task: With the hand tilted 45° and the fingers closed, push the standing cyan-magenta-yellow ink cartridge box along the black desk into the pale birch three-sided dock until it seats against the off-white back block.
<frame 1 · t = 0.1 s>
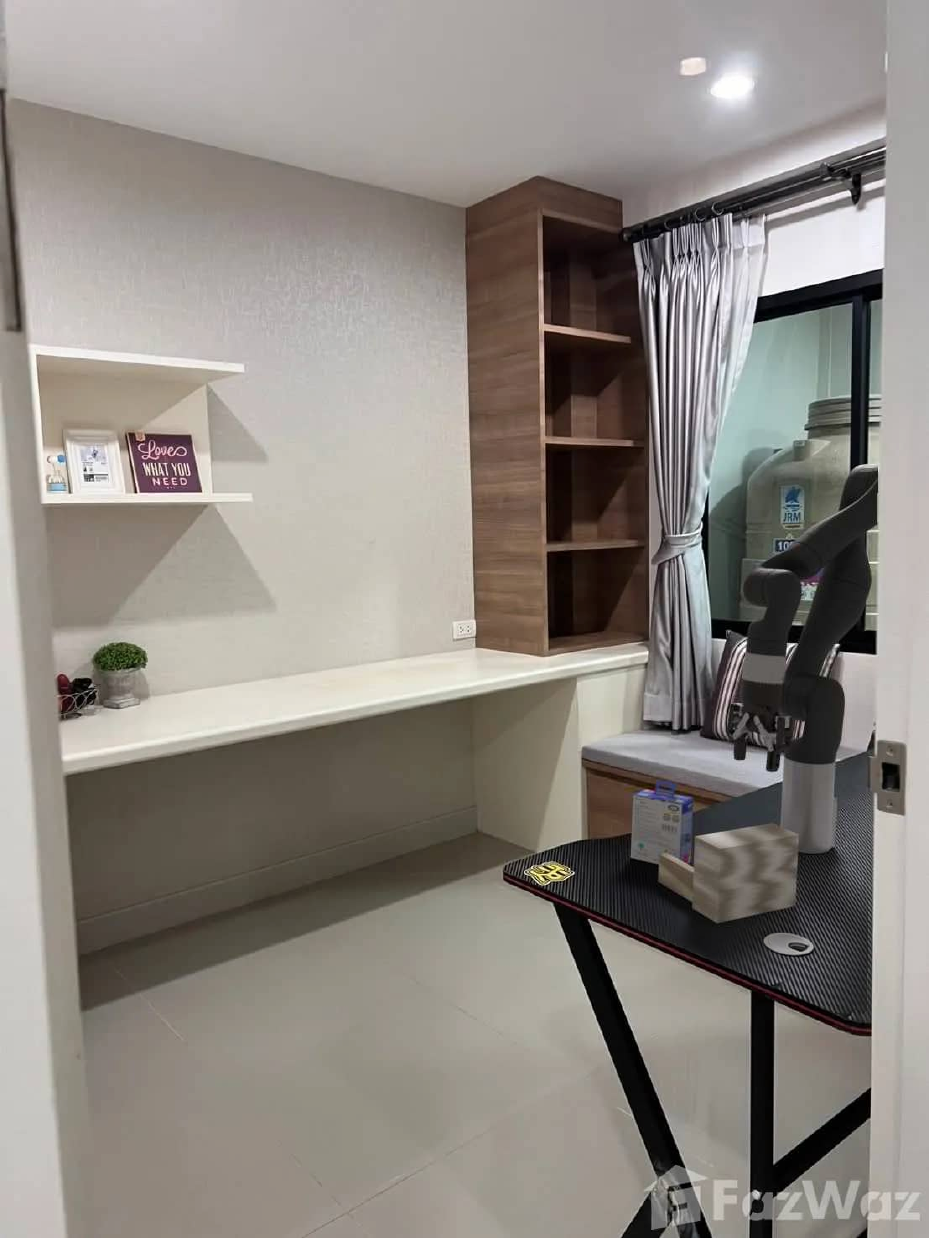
hand: (755, 765, 170), 17 cm above the table, tool pointing down, fingers open, 8 cm apart
ink cartridge box: (661, 861, 169), on the table
cartridge dock: (721, 894, 155), on the table
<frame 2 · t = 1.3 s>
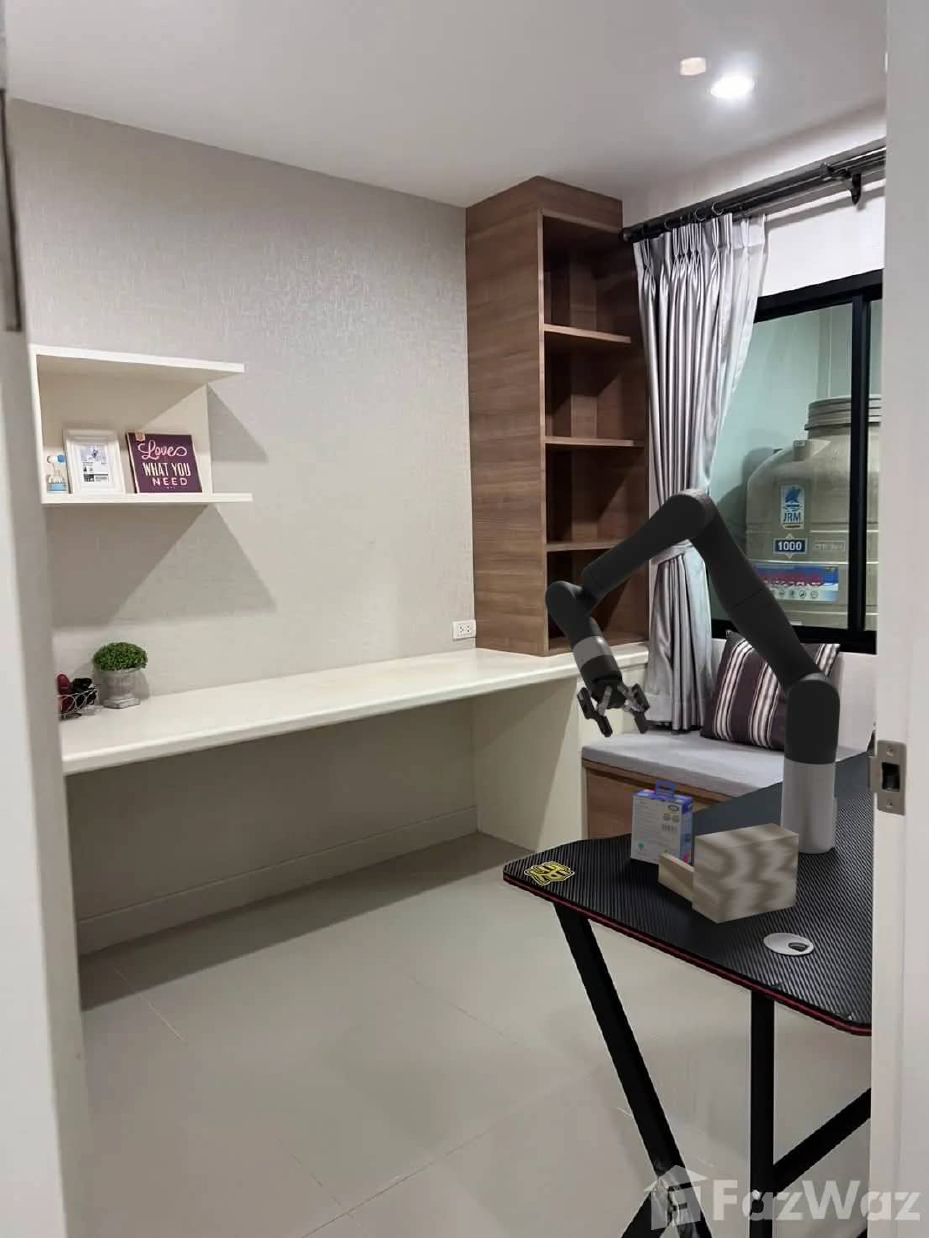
hand: (627, 733, 177), 21 cm above the table, tool tilted 45°, fingers open, 8 cm apart
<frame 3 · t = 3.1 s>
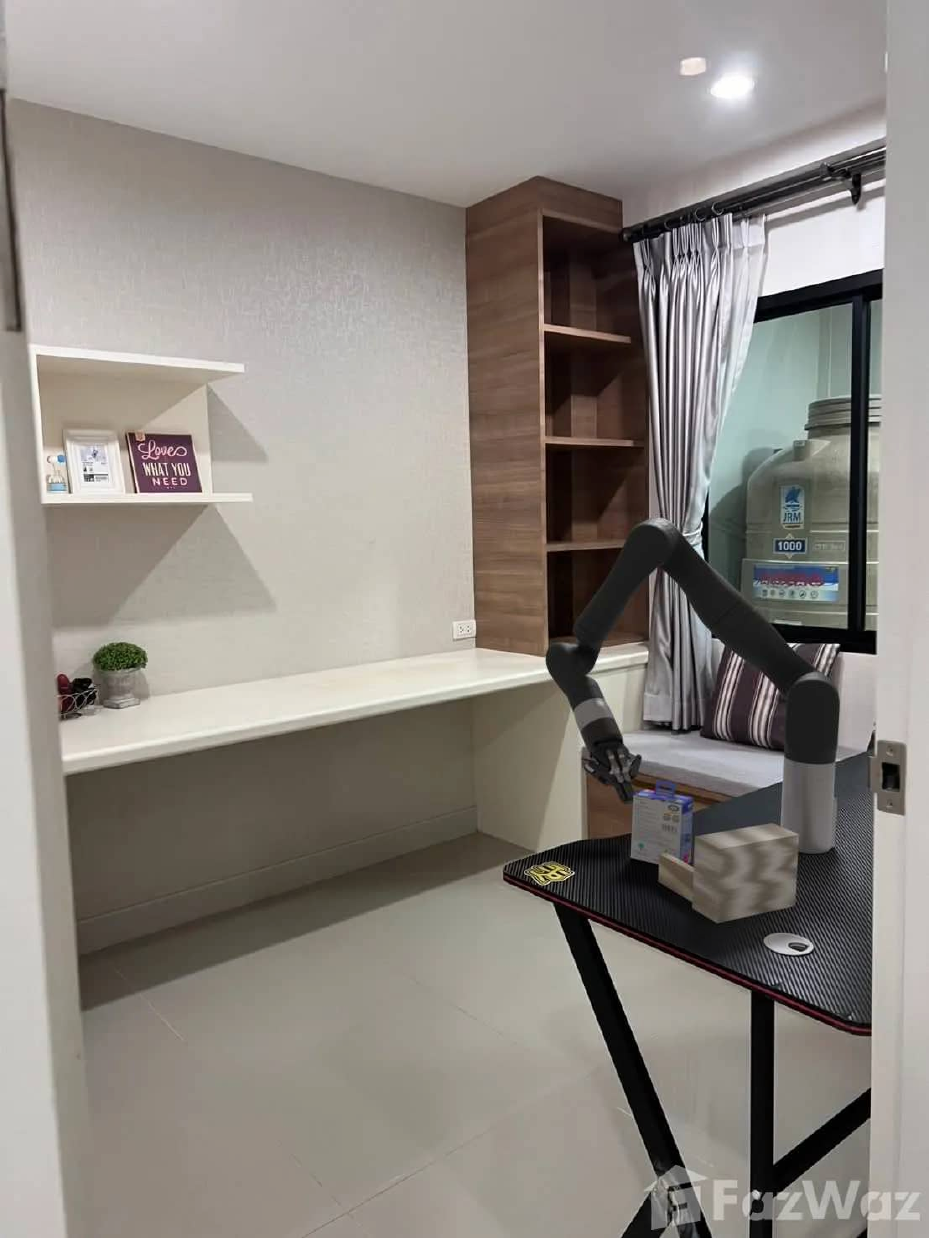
hand: (630, 802, 177), 8 cm above the table, tool tilted 45°, fingers closed
nothing on the table moved.
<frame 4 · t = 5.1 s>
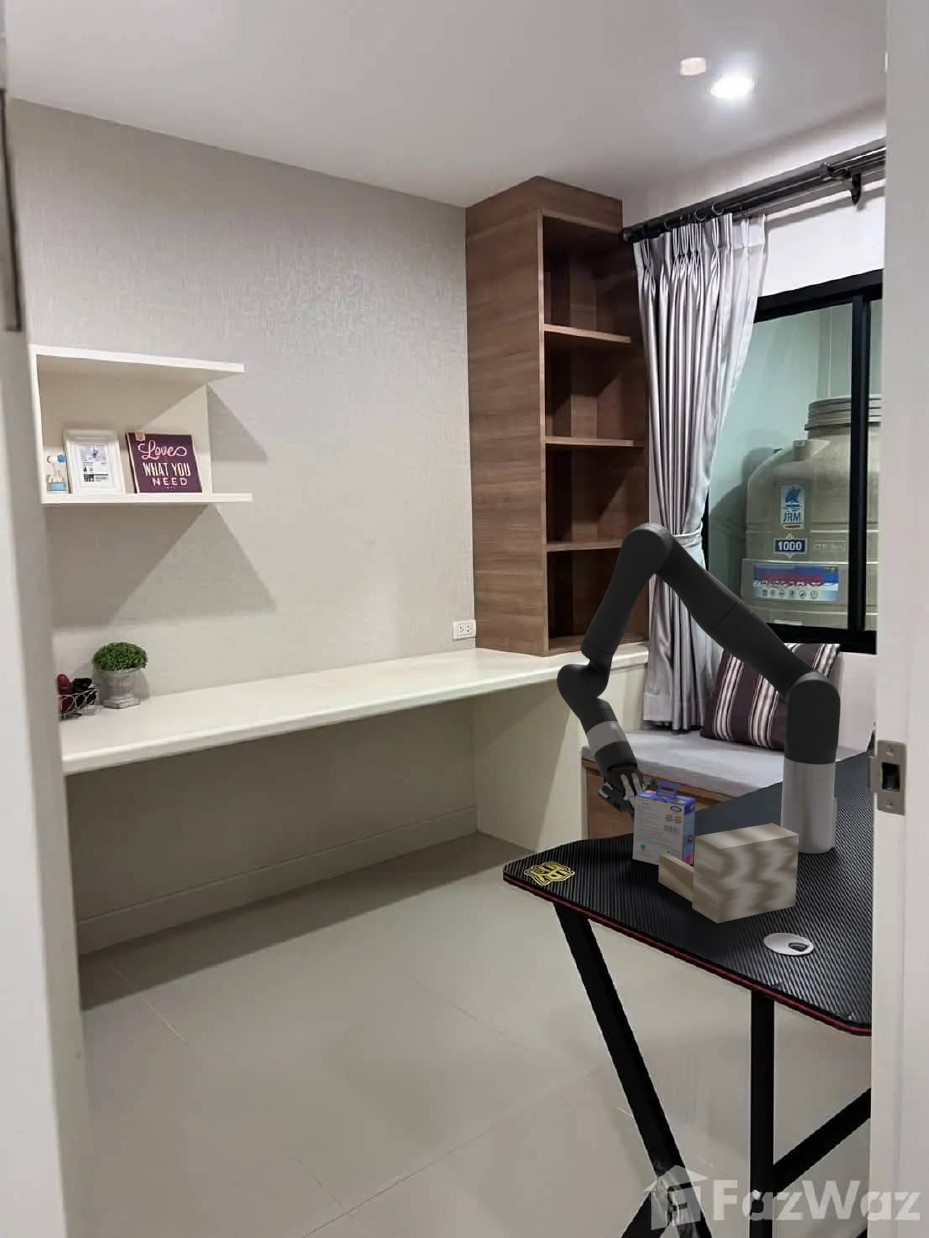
hand: (645, 828, 174), 4 cm above the table, tool tilted 45°, fingers closed
ink cartridge box: (663, 862, 169), on the table, touching gripper
everything else where it was.
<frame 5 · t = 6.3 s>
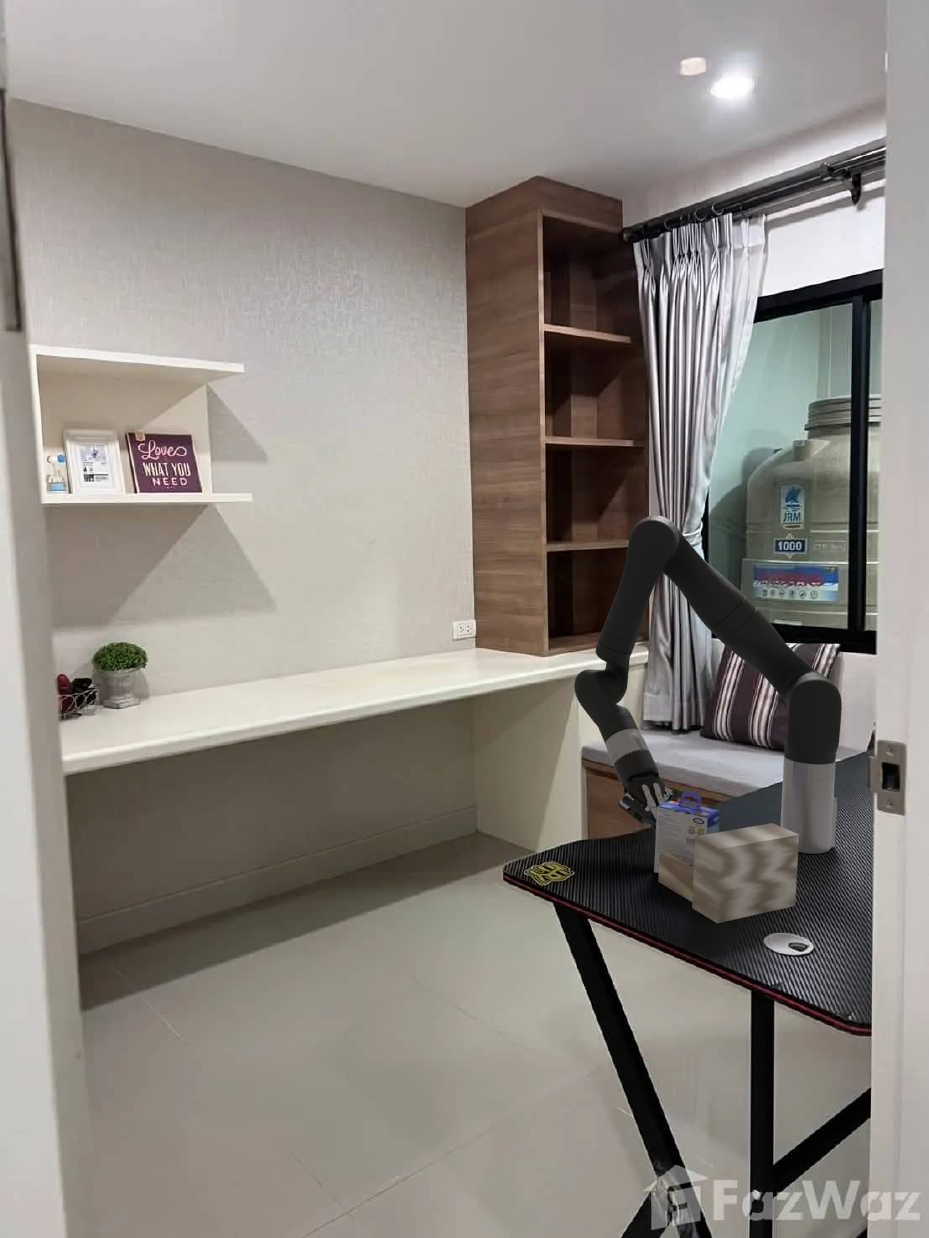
hand: (667, 841, 167), 4 cm above the table, tool tilted 45°, fingers closed
ink cartridge box: (685, 876, 162), on the table, touching gripper
everything else where it was.
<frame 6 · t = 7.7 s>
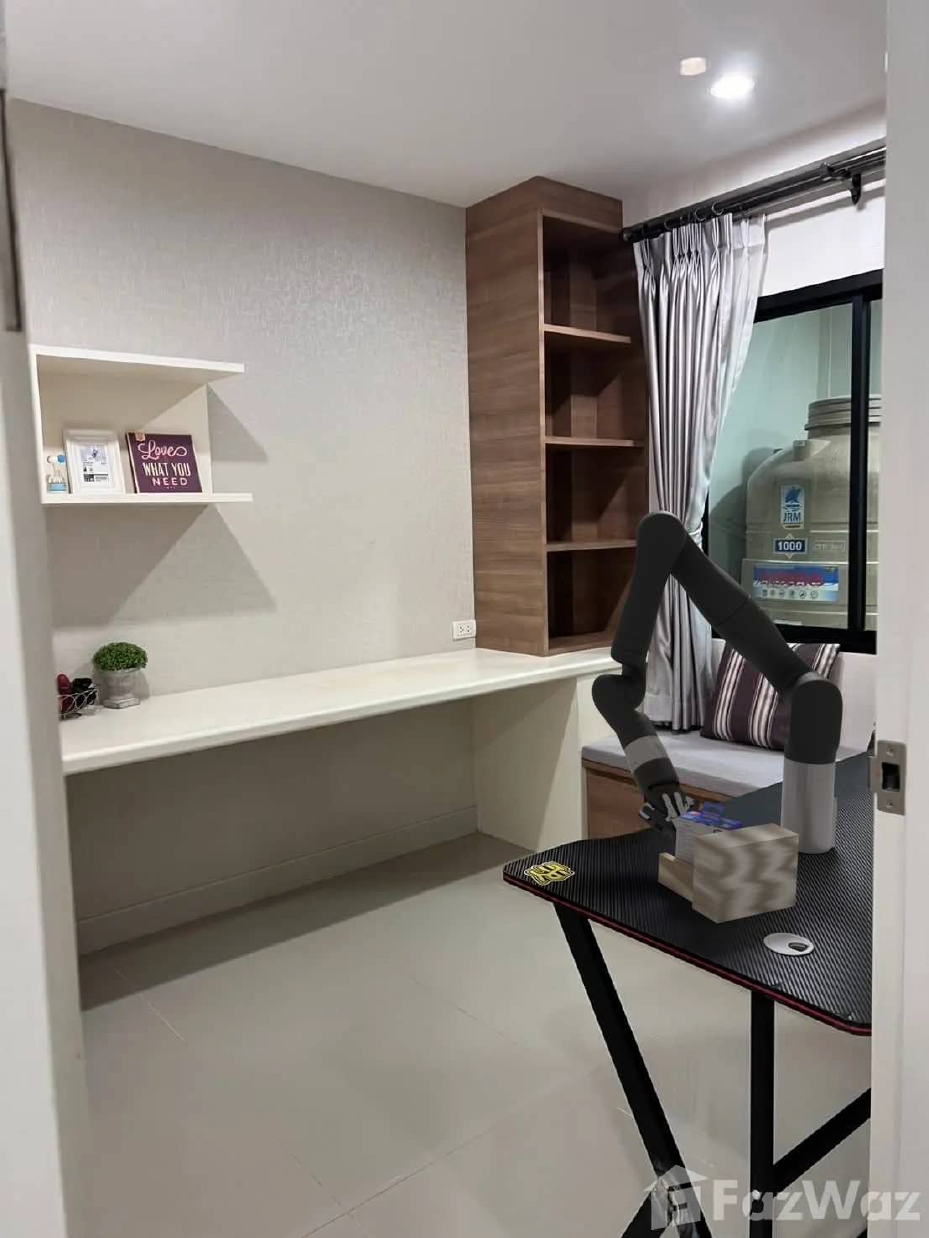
hand: (689, 852, 162), 4 cm above the table, tool tilted 45°, fingers closed
ink cartridge box: (706, 889, 157), on the table, touching cartridge dock, gripper
everything else where it was.
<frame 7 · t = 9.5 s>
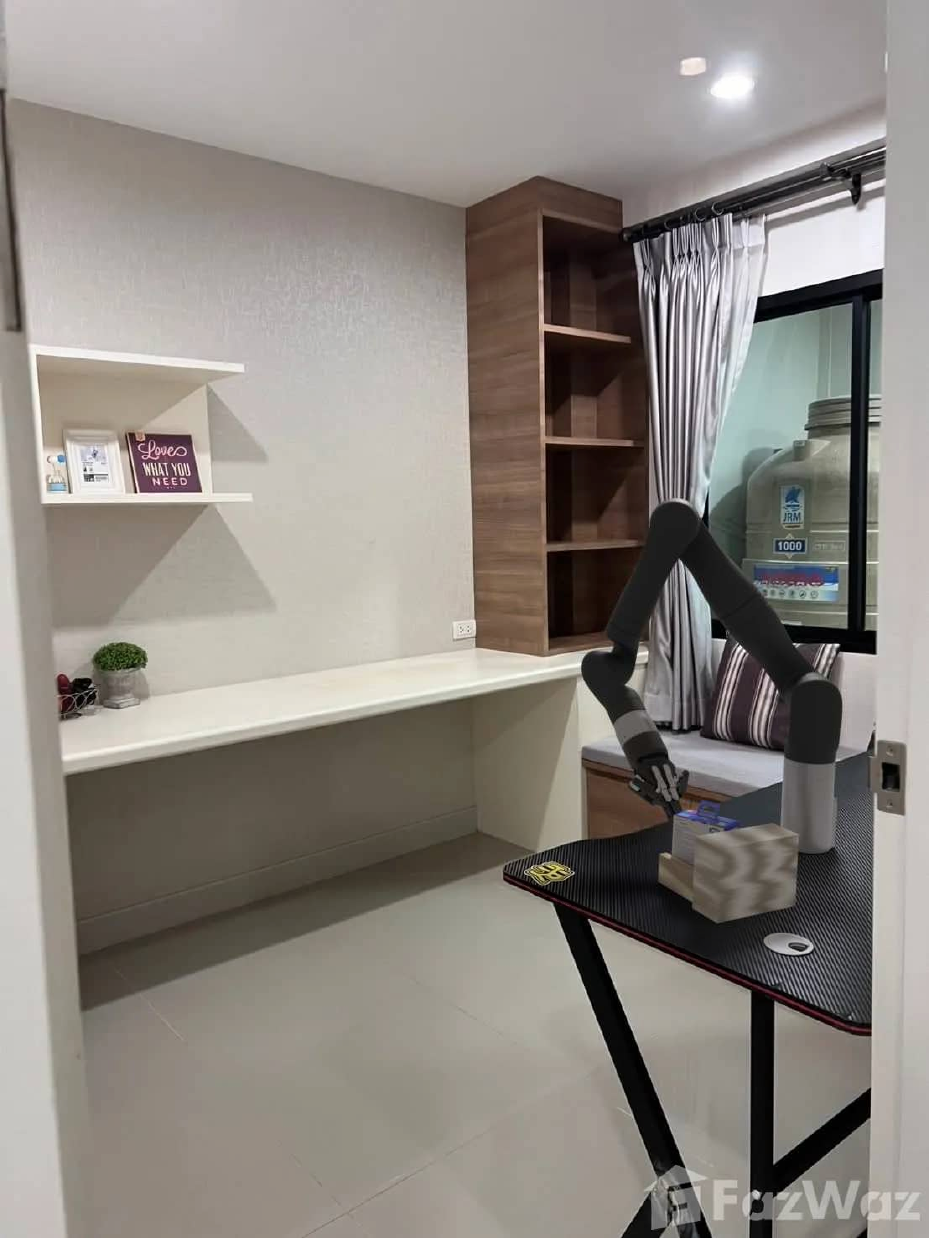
hand: (679, 822, 164), 9 cm above the table, tool tilted 45°, fingers closed
ink cartridge box: (703, 887, 158), on the table
everything else where it was.
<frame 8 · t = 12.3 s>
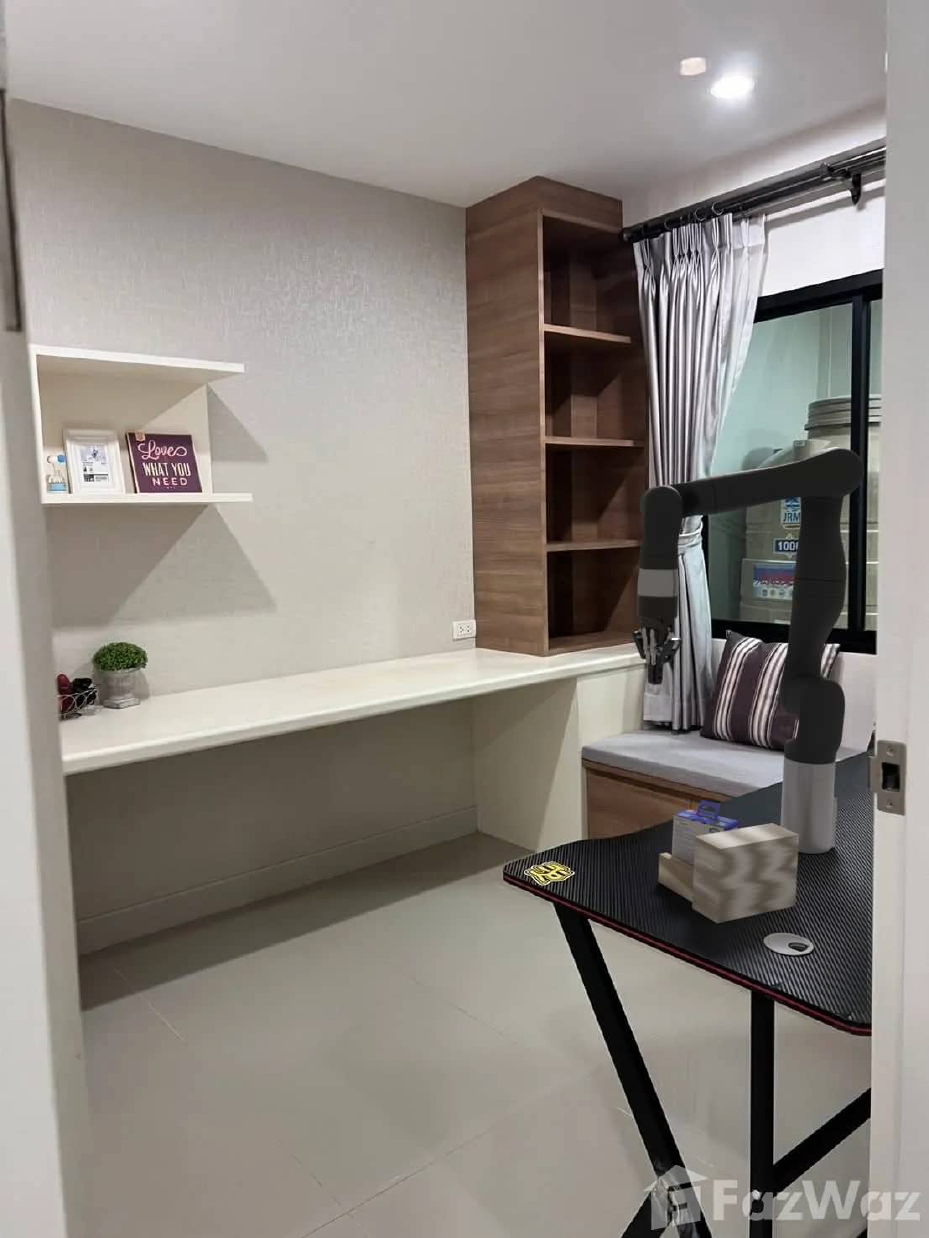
hand: (654, 683, 176), 31 cm above the table, tool pointing down, fingers closed
nothing on the table moved.
at the end: ink cartridge box 1.5 cm from the target spot on the cartridge dock, point 0.0 cm above the cartridge dock's base; ink cartridge box tilted 0° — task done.
